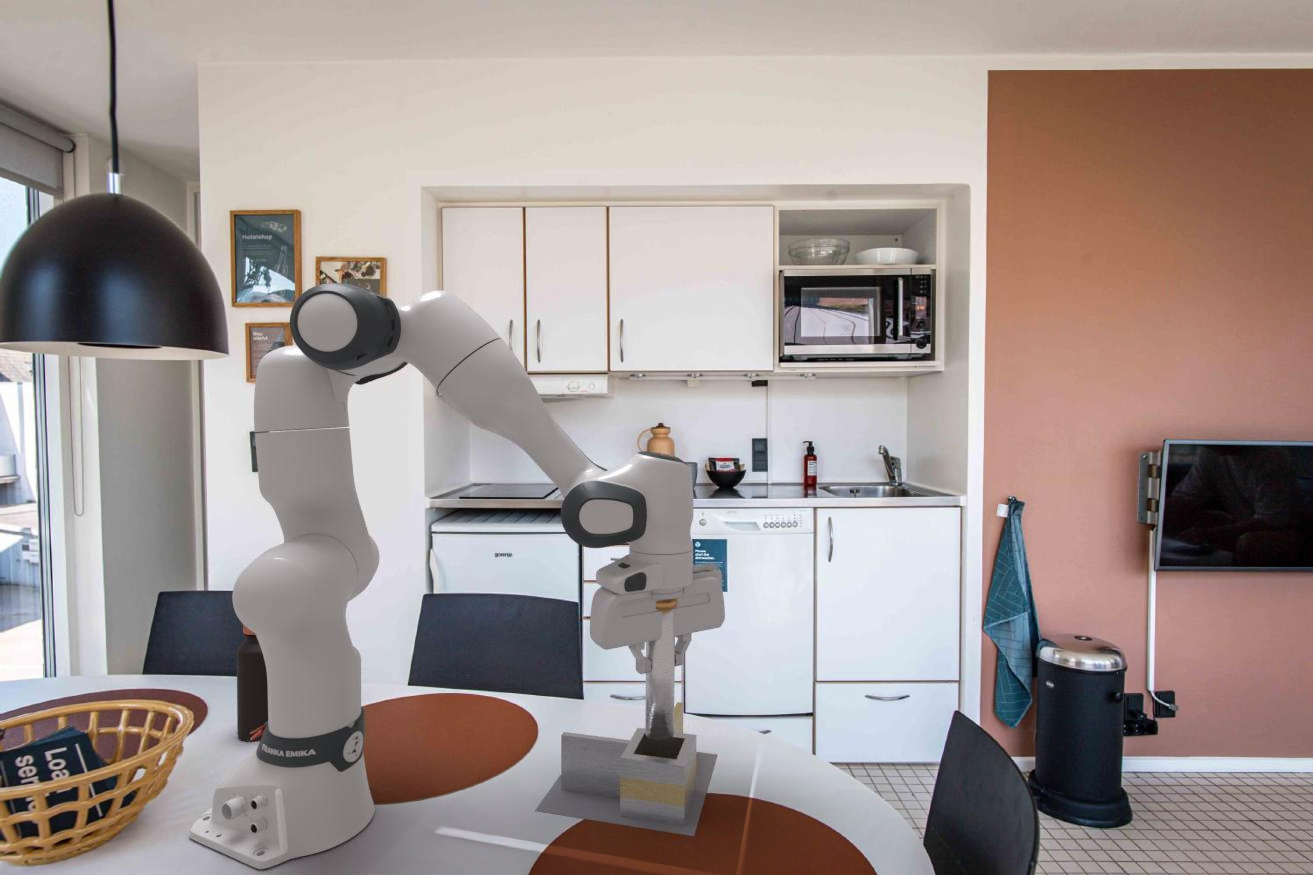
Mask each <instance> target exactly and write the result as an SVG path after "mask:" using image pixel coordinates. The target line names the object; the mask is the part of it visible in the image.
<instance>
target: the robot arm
mask: <svg viewBox="0 0 1313 875" xmlns="http://www.w3.org/2000/svg"><path fill="white" fill-rule="evenodd" d="M290 311H291V312H290V316H289V328H290V334H291V337H292V339H293V341H294V343H295V345H294V344H293V345H285V346H282V347H278V348H275V349H273V350H271V351H268V352H267V353H266V354H265V355H264V356H263V357H262V358H261V359H260V361H259V363H258V366H257V370H256V375H255V376H256V377H255V384H254V398H253V424H254V425H253V427H254V439H255V440H254V442H255V452H256V463H257V474H258V477H257V478H258V487H259V492H260V494H261V497H262V498H263V499H264V500H265V501H266V502H267V503H268V504H269V505H270V506H271V508H272V509H273V511H274V513H275V515H276V518H277V521H278V523H279V526H280V528H281V532H282V535H283V536H282V537H283V543H281V544H278V545H275V546H273V547H271V548H269V549H267V550H266V551H264V552H263V553H261V554H260V555H258V557H256V558H255V559H254V560H253V561H252V562H251V563H249V565H247V567H245V569H243V570H242V572H240V574H239V575H238V577H237V578H236V581H235V583H234V586H233V589H232V597H231V598H232V605H233V606H232V607H233V609H234V610H233V611H234V612H235V615H236V616H237V618H238V619H239V621H240V622H241V623H242V625H243V624H244V625H245V626H246V627H247V628H248V629H250V630H251V631H253V632H254V633H255V634H256V636H257V639H258V641H259V644H260V647H261V650H262V653H263V657H264V661H265V665H266V671H267V685H268V721H267V722H265V725H263V726H261V727H260V728H258V729H256V730H254V731H252V732H251V733H250V734H253V733H255V732H257V731H258V733H256V734H255V735H254V736H253V737H252V738H251V739H250V740H251V741H250V742H253V741H252V740H254V739H256V738H257V737H259V736H261V735H262V737H261V740H259V743H258V745H257V748H256V750H255V751H254V752H253V753H251V754H249V755H248V756H247V757H246V758H245V759H243V760H242V761H241V762H239V764H237V765H236V766H235V767H233V768H232V769H231V770H230V771H228V772H227V773H226V774H225V775H223V777H222V778H221V779H220V781H219V782H218V784H217V785H216V788H215V790H214V793H213V799H212V806H211V807H210V808H209V809H208V810H206V811H205V812H204V813H203V814H202V815H200V817H198V819H197V820H196V821H195V822H194V823H193V824H192V826H191V828H190V830H189V838H190V839H191V840H193V841H195V842H197V843H199V844H201V845H204V846H206V847H208V848H210V849H212V850H214V851H217V852H220V853H222V854H224V855H225V856H228V857H231V858H233V859H234V860H237V861H239V862H241V863H244V864H245V865H247V866H250V867H253V868H254V869H258V870H265V869H269V868H271V867H274V866H277V865H279V864H282V863H284V862H286V861H289V860H291V859H296V858H301V857H304V856H309V855H310V856H311V855H313V854H317V853H321V852H323V851H327V850H329V849H332V848H334V847H336V846H339V845H341V844H343V843H345V842H347V841H348V840H350V839H351V838H353V837H355V836H356V835H357V834H359V833H360V832H361V831H362V830H364V829H365V828H366V827H367V826H368V824H369V823H370V822H371V820H372V819H373V817H374V815H375V811H376V806H375V803H374V800H373V796H372V794H371V790H370V786H369V781H368V776H367V771H366V763H365V762H366V761H365V757H364V746H365V740H366V717H365V710H364V707H362V656H361V653H360V651H359V650H358V649H357V647H355V646H354V645H353V642H352V640H351V639H352V638H351V635H350V631H349V628H348V623H347V617H346V616H347V607H348V603H349V602H350V601H352V600H353V599H355V598H356V597H358V596H359V595H360V594H362V593H363V592H364V591H365V590H366V589H367V588H368V586H369V585H370V583H371V581H372V580H373V579H374V576H375V574H376V572H377V571H378V568H379V565H380V551H379V547H378V545H377V542H376V541H375V539H374V538H373V537H372V536H371V535H370V533H369V530H368V527H367V524H366V521H365V517H364V513H363V510H362V507H361V504H360V500H359V497H358V493H357V489H356V482H355V476H354V469H353V468H354V466H353V454H352V444H351V443H352V442H351V432H350V420H349V418H350V417H349V410H348V409H349V408H348V407H349V406H348V402H349V401H348V400H349V399H348V397H349V394H350V392H351V391H350V390H351V388H352V386H354V384H355V385H358V386H361V385H365V384H367V383H370V382H371V383H372V382H373V381H376V380H379V379H382V378H385V377H387V376H388V377H389V376H391V375H393V374H395V373H397V372H399V371H401V370H402V369H404V368H405V367H407V365H408V364H410V365H411V366H413V367H414V368H416V369H417V370H418V371H419V372H420V373H421V374H422V375H423V376H424V377H425V378H426V379H427V380H428V382H429V383H430V384H431V385H432V386H433V388H434V389H435V390H436V392H438V393H439V395H441V397H442V398H443V399H444V400H445V401H446V402H447V403H448V404H449V405H450V406H451V407H452V408H453V409H454V410H455V411H456V412H458V413H459V414H460V415H461V416H462V417H464V418H465V419H466V420H468V422H470V423H472V424H473V425H474V426H475V427H477V428H480V429H482V430H485V431H486V432H487V431H488V432H490V433H492V434H495V435H498V436H501V437H503V438H505V439H506V440H507V441H508V440H509V441H510V442H512V443H513V444H515V445H516V446H517V447H519V448H520V449H521V450H523V452H524V453H526V454H527V455H528V456H529V457H530V459H531V460H532V461H533V463H535V464H536V465H537V467H539V468H540V470H541V471H542V472H543V473H545V476H547V477H548V479H550V481H551V482H552V483H553V484H554V485H555V486H556V487H557V488H558V490H559V492H560V494H561V496H562V498H563V501H562V504H561V509H560V521H561V525H562V527H563V530H564V532H565V533H566V534H567V536H568V537H569V539H571V541H573V542H574V543H576V544H577V545H579V546H582V547H585V548H589V549H604V548H609V547H614V546H619V545H624V544H628V546H629V549H628V552H629V553H628V554H627V555H624V556H622V557H621V558H619V559H617V560H615V561H613V562H611V563H608V564H607V565H604V566H602V567H601V568H599V569H597V571H596V573H595V581H596V583H597V585H600V587H599V588H598V589H597V590H596V591H595V592H594V594H593V596H592V601H591V608H590V615H589V616H590V617H589V637H590V639H591V641H592V642H593V643H594V644H595V645H596V646H598V647H599V648H601V649H602V650H606V651H607V650H612V649H613V650H614V649H618V648H623V647H628V649H629V651H630V653H631V654H632V656H633V658H634V659H635V671H636V672H637V673H638V674H640V675H646V673H649V672H651V660H650V659H647V657H646V655H645V656H644V654H643V652H642V651H644V650H646V642H649V641H654V640H659V639H660V638H661V636H662V611H658V609H656V602H659V601H665V600H671V599H677V607H675V608H674V609H673V635H674V636H675V639H676V640H677V641H676V642H675V668H676V667H680V666H683V665H685V654H686V652H687V650H688V648H689V647H690V644H691V642H692V634H694V633H699V632H704V631H710V630H715V629H718V628H721V627H722V625H723V624H724V622H725V621H726V620H725V618H726V611H725V610H726V609H725V607H726V606H725V600H724V599H725V598H724V590H723V587H722V586H723V573H722V570H721V569H720V568H719V566H717V565H715V564H714V563H713V562H705V563H704V564H702V563H701V564H694V544H693V540H692V536H691V529H692V524H693V521H694V488H693V478H692V473H691V469H690V467H689V465H688V464H687V463H686V462H685V461H684V460H683V459H681V458H679V457H677V456H675V455H674V456H673V455H671V454H670V455H669V454H668V453H667V454H666V453H660V452H655V451H650V450H649V451H648V450H643V451H637V452H636V453H635V454H634V455H633V456H632V457H630V458H628V459H627V460H626V461H624V462H621V463H619V464H618V465H616V466H614V467H612V468H610V469H607V468H605V467H603V466H601V465H598V464H596V463H595V462H594V461H592V460H591V459H590V458H589V457H588V456H587V455H586V454H585V453H584V452H583V451H582V450H581V448H580V447H579V446H578V445H577V444H576V443H575V442H574V441H573V439H571V437H570V436H569V435H568V434H567V432H565V431H564V430H563V429H562V427H561V426H560V425H559V424H558V422H556V421H555V419H554V418H553V417H552V414H550V412H549V410H548V409H547V407H546V405H545V404H544V401H543V400H542V398H541V396H540V395H539V392H538V390H537V388H536V387H535V385H534V383H533V381H532V379H531V378H530V375H529V374H528V372H527V370H526V369H525V367H524V366H523V364H522V363H521V361H520V360H519V358H518V357H517V356H516V354H515V353H514V352H513V350H512V349H511V347H510V346H509V345H508V344H507V343H506V342H505V340H504V339H503V338H502V337H501V336H500V335H499V333H497V332H496V331H495V329H494V328H493V327H492V326H491V325H490V324H489V323H488V322H487V321H486V320H485V319H484V318H483V317H482V316H480V314H479V313H477V312H476V311H475V310H474V309H473V308H471V306H469V305H468V304H467V303H466V302H464V301H463V300H462V299H461V298H459V297H458V296H457V295H456V294H454V293H452V292H450V291H447V290H441V289H439V290H438V289H436V290H432V291H431V290H430V291H427V292H424V293H422V294H419V295H418V296H416V297H415V298H413V299H412V300H411V301H410V302H408V303H407V304H404V305H396V304H395V303H394V301H393V299H391V298H389V297H388V296H387V297H386V296H383V295H382V294H381V295H380V294H378V293H375V292H372V291H370V290H367V289H365V288H362V287H359V286H357V285H353V284H350V283H340V282H329V283H322V284H317V285H315V286H313V287H311V288H308V289H307V290H306V291H304V292H303V293H302V294H301V295H299V297H298V298H297V299H296V301H295V302H294V304H293V307H292V308H291V310H290Z"/></svg>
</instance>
